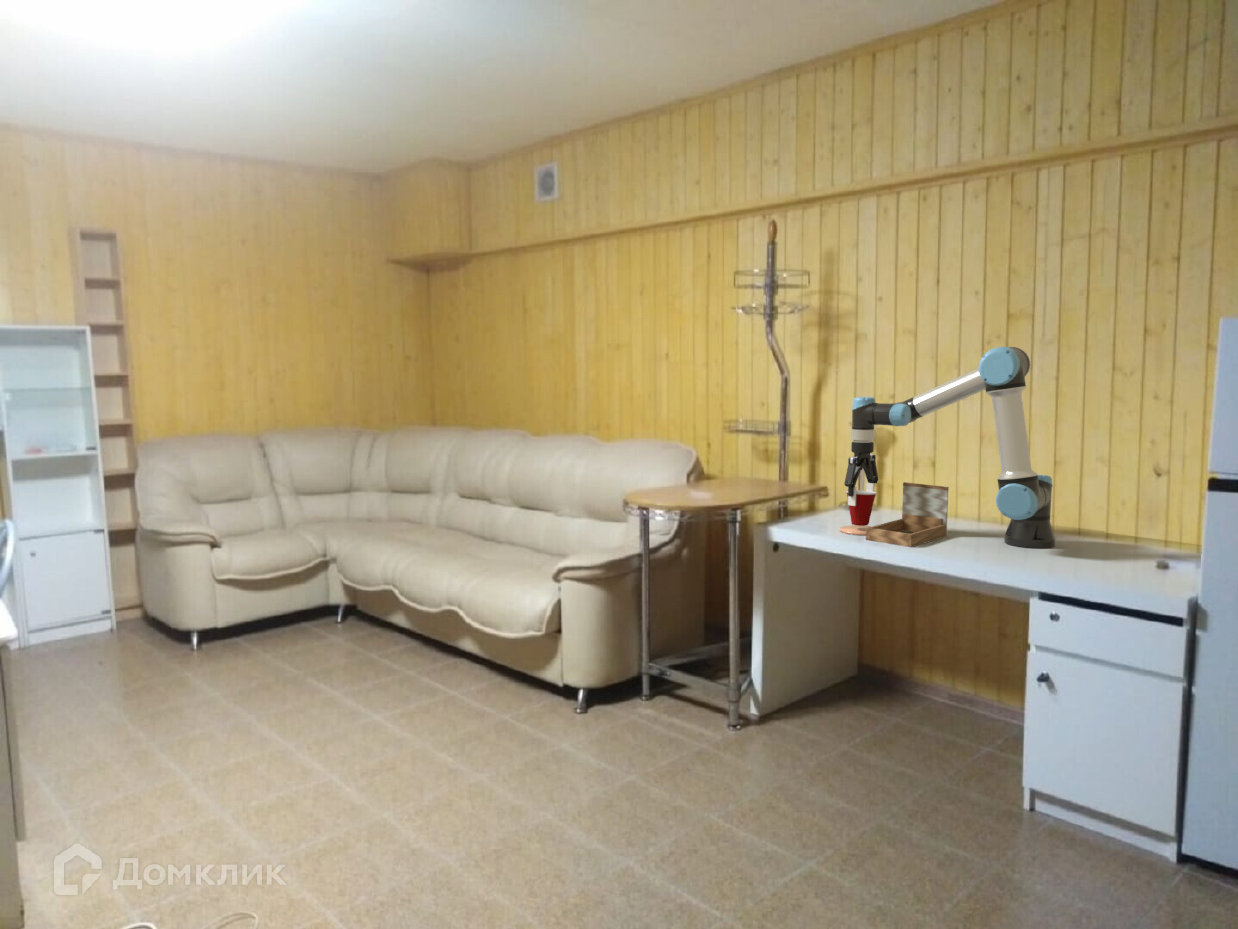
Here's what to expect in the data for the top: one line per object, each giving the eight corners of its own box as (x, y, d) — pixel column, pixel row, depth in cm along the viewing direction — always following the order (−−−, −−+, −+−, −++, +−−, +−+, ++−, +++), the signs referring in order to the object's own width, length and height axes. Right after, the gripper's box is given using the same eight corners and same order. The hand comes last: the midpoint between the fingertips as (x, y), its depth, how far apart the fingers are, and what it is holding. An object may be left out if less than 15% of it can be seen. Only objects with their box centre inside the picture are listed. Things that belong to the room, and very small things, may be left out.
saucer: (888, 531, 312) (888, 529, 312) (867, 537, 302) (867, 535, 302) (854, 526, 322) (854, 523, 322) (832, 531, 313) (832, 529, 312)
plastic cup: (882, 524, 312) (883, 490, 310) (866, 528, 304) (867, 494, 303) (854, 520, 319) (855, 487, 318) (838, 524, 312) (839, 490, 310)
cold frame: (946, 535, 303) (948, 487, 301) (910, 547, 287) (912, 495, 284) (903, 529, 315) (904, 482, 313) (866, 539, 299) (867, 490, 296)
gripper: (871, 438, 319) (869, 498, 321) (834, 443, 303) (833, 506, 306) (889, 439, 313) (888, 500, 316) (853, 444, 298) (852, 508, 300)
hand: (861, 503), depth 311 cm, fingers closed on plastic cup, 11 cm apart
